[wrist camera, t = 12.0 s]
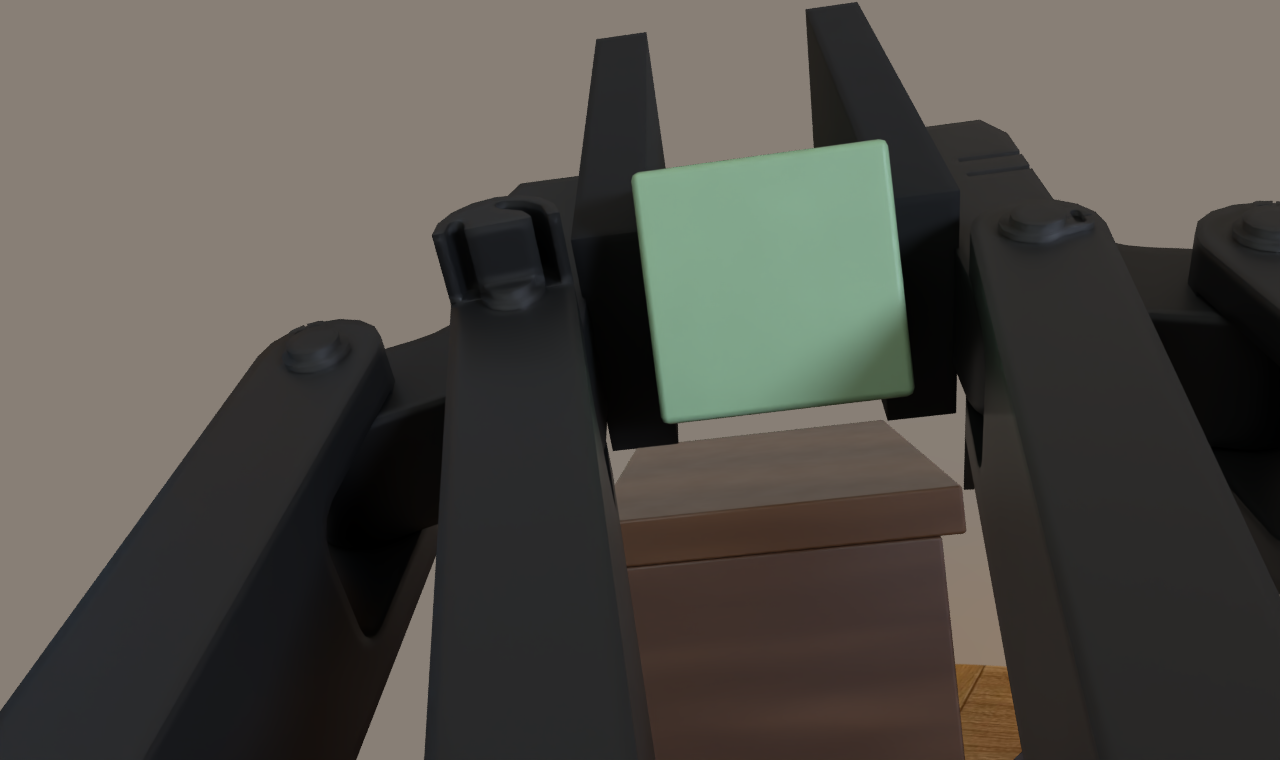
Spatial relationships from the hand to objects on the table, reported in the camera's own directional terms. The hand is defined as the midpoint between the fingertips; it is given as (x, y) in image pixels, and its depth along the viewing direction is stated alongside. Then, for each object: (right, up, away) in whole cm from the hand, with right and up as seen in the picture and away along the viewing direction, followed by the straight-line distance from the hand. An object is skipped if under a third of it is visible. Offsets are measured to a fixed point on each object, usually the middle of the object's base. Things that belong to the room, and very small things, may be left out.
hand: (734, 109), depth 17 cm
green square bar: (+1, -4, +3) cm, 5 cm away
